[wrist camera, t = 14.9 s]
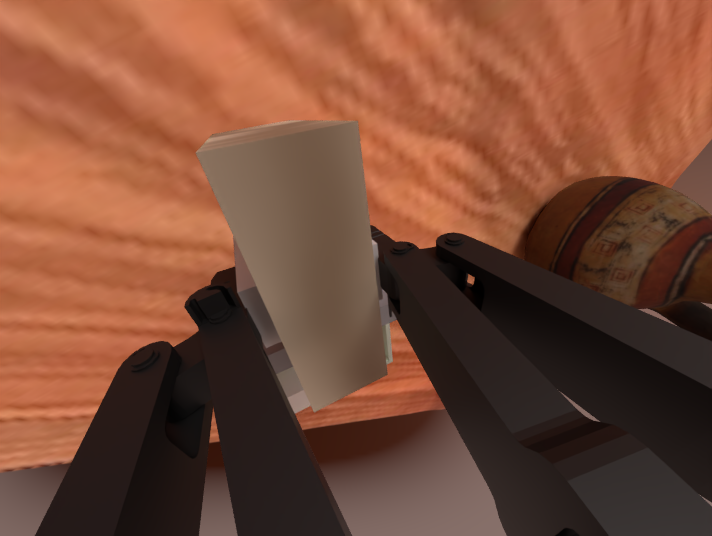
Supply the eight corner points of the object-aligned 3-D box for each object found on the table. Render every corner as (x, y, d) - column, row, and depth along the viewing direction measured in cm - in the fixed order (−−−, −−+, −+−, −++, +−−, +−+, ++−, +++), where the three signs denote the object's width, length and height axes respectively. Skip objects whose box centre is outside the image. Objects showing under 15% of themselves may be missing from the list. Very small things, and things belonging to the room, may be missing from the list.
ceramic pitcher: (597, 142, 39) (1167, 182, 15) (588, 232, 51) (894, 329, 28) (501, 225, 39) (931, 393, 15) (516, 295, 51) (763, 446, 28)
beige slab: (216, 348, 16) (210, 490, 10) (84, 157, 10) (-160, 222, 4) (390, 278, 20) (466, 352, 14) (376, 104, 13) (509, 91, 7)
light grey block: (272, 367, 32) (280, 382, 34) (279, 401, 28) (288, 417, 30) (309, 350, 33) (315, 366, 35) (321, 381, 30) (327, 397, 32)
